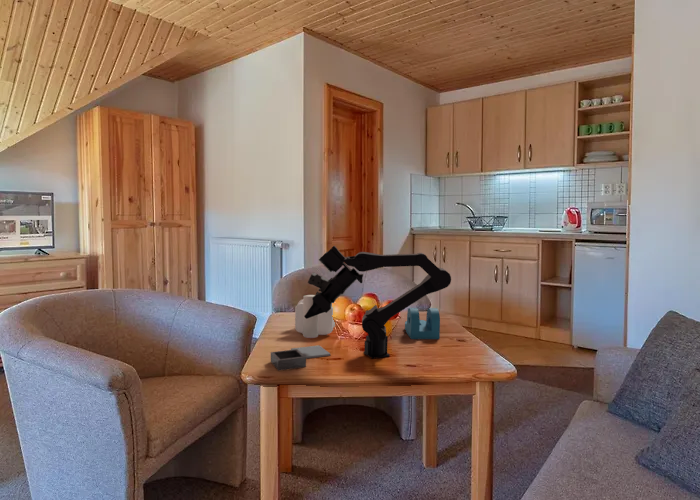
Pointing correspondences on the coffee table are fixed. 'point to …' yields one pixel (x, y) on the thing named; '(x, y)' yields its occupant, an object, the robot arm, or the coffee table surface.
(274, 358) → the grey square tray
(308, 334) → the white plug
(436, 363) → the coffee table surface
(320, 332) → the cable organizer
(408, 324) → the camera mount
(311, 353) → the slate mat
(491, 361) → the coffee table surface
